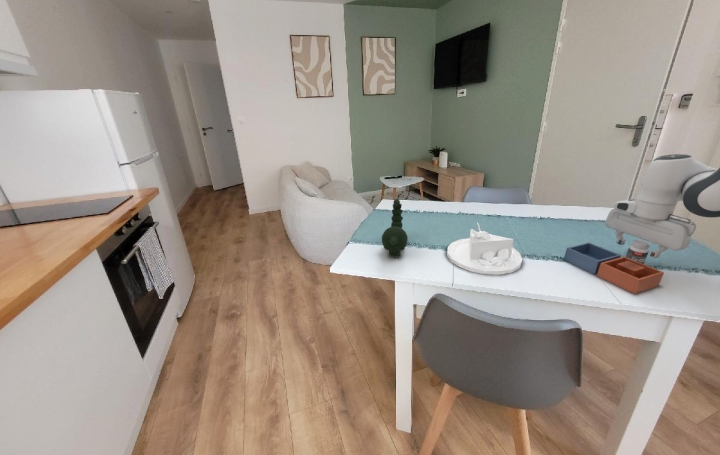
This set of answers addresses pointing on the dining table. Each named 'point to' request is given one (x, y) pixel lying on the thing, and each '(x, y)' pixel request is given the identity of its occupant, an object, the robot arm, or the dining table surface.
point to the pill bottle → (638, 251)
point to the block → (631, 269)
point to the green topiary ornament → (395, 232)
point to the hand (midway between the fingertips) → (636, 250)
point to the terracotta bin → (630, 276)
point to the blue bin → (589, 256)
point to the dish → (485, 253)
